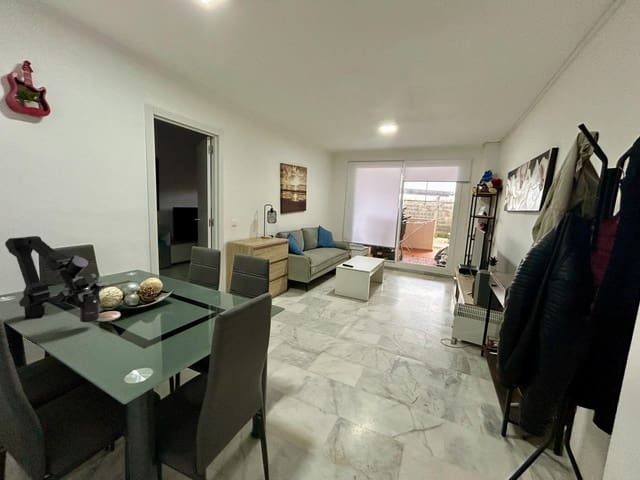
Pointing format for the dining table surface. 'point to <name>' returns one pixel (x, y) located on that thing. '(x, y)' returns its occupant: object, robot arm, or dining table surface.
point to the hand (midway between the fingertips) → (92, 306)
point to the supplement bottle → (89, 308)
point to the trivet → (108, 316)
